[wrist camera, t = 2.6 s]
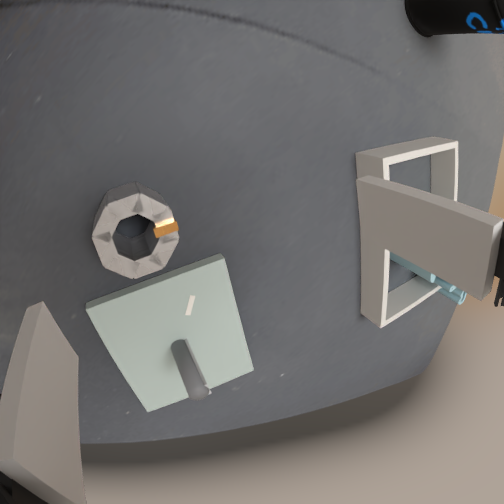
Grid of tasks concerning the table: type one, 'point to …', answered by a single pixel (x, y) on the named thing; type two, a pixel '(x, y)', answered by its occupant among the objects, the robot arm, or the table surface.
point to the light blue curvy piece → (432, 280)
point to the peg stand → (175, 333)
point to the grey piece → (141, 246)
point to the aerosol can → (456, 16)
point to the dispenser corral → (377, 258)
